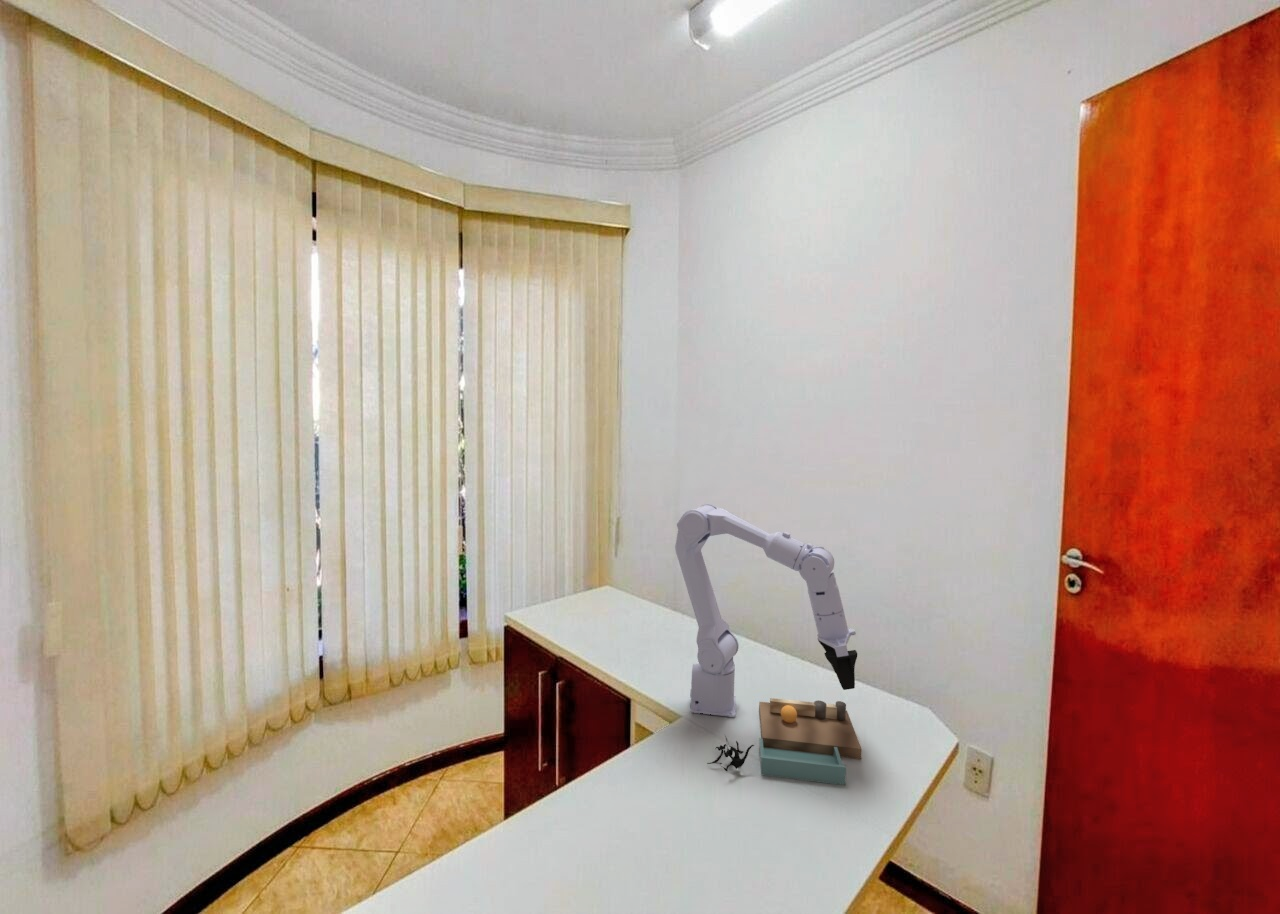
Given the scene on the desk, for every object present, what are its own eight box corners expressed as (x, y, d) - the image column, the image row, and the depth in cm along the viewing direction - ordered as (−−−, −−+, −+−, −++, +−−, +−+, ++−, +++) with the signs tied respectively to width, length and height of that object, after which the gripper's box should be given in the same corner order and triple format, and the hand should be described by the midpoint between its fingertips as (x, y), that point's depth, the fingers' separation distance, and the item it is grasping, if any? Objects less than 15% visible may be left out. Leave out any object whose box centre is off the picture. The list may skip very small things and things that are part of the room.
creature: (700, 764, 98) (725, 781, 91) (697, 734, 99) (721, 748, 92) (734, 752, 102) (761, 768, 94) (731, 723, 102) (757, 736, 95)
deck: (762, 747, 101) (762, 737, 101) (759, 710, 114) (759, 701, 114) (861, 759, 98) (861, 748, 98) (846, 719, 111) (846, 710, 111)
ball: (781, 725, 105) (781, 709, 105) (779, 716, 108) (780, 701, 108) (797, 727, 105) (798, 711, 104) (795, 717, 108) (796, 702, 108)
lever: (770, 713, 109) (770, 699, 109) (769, 707, 111) (769, 693, 111) (846, 721, 106) (847, 707, 106) (844, 715, 109) (844, 701, 108)
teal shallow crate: (761, 774, 94) (761, 757, 93) (759, 748, 101) (759, 732, 101) (845, 785, 91) (845, 767, 91) (836, 757, 99) (837, 740, 98)
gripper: (857, 618, 95) (875, 693, 94) (841, 597, 109) (857, 662, 109) (817, 624, 96) (835, 698, 96) (807, 603, 110) (822, 667, 110)
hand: (844, 680), depth 102 cm, fingers open, 7 cm apart
